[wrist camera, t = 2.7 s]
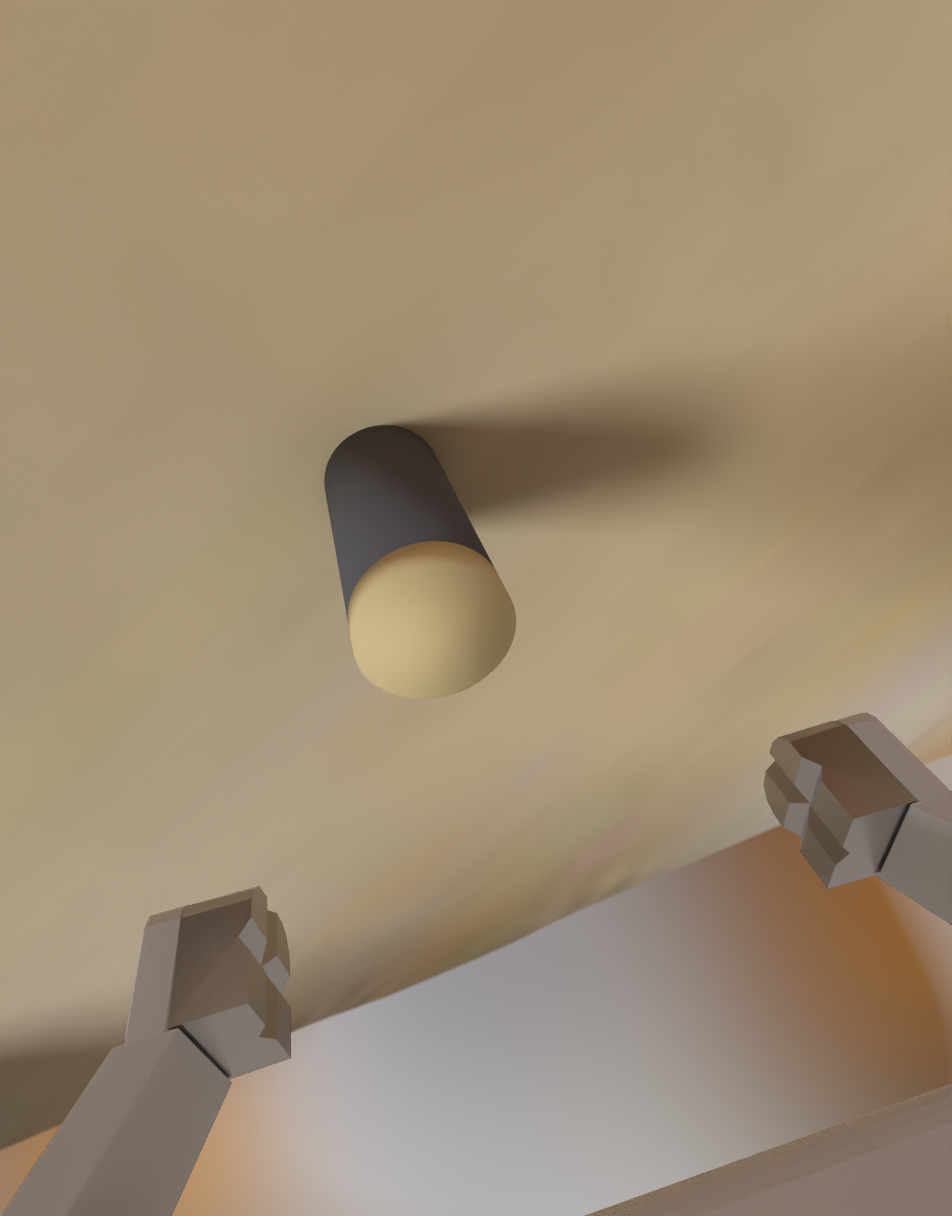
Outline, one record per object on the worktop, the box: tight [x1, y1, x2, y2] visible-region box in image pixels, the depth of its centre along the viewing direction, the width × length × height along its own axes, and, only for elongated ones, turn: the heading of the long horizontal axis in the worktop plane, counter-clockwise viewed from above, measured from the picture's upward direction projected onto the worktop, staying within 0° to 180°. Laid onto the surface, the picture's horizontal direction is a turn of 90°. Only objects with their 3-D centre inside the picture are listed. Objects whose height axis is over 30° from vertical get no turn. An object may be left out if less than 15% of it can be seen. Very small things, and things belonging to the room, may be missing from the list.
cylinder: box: [324, 426, 516, 699], centre depth 18 cm, size 4×4×8 cm
